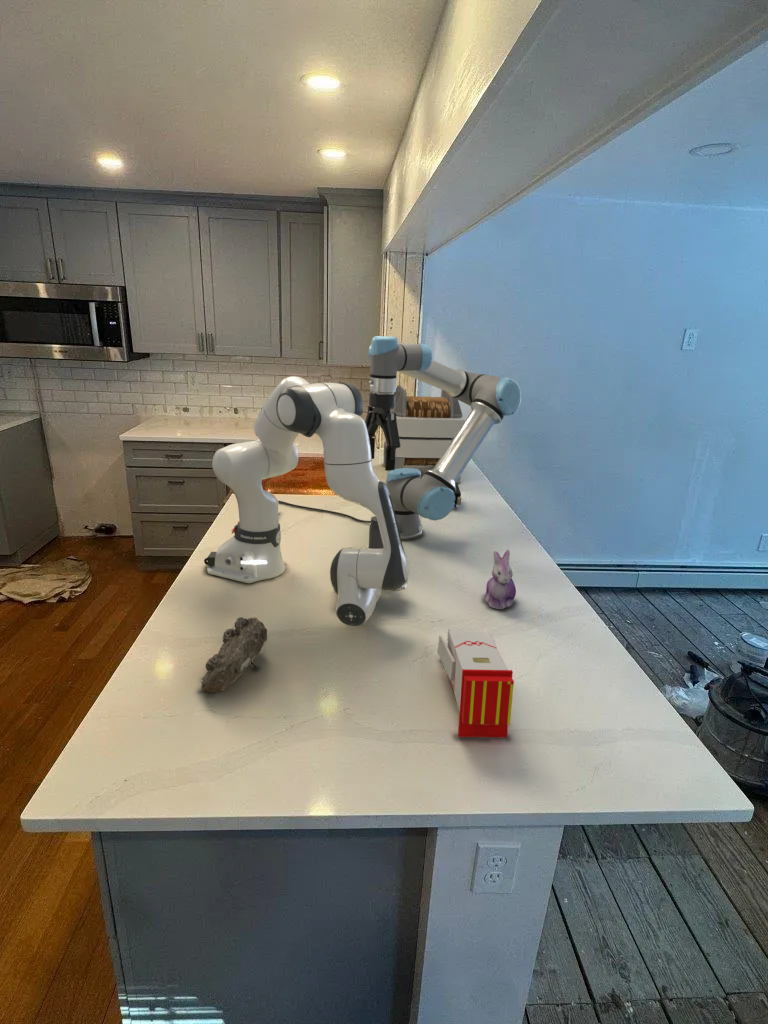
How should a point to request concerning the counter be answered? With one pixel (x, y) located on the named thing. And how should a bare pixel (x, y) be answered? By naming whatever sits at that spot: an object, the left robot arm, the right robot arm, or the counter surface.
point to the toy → (478, 682)
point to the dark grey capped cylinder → (375, 535)
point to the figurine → (501, 583)
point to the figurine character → (457, 496)
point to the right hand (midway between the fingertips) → (379, 464)
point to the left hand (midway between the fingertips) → (375, 564)
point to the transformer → (424, 427)
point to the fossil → (234, 654)
